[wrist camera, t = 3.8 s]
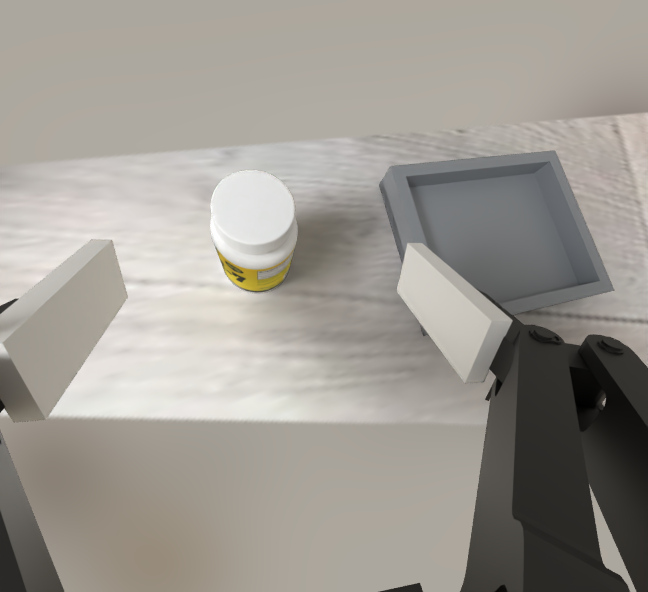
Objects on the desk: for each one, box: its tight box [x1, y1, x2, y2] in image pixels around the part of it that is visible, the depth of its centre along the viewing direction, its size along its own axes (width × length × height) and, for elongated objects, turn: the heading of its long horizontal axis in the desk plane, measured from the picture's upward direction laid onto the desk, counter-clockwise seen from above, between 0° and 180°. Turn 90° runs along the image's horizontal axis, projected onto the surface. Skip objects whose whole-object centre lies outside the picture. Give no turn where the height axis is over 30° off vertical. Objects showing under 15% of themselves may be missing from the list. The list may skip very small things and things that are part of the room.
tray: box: [379, 151, 614, 336], centre depth 26 cm, size 16×13×2 cm
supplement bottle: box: [210, 170, 298, 293], centre depth 19 cm, size 5×5×8 cm
